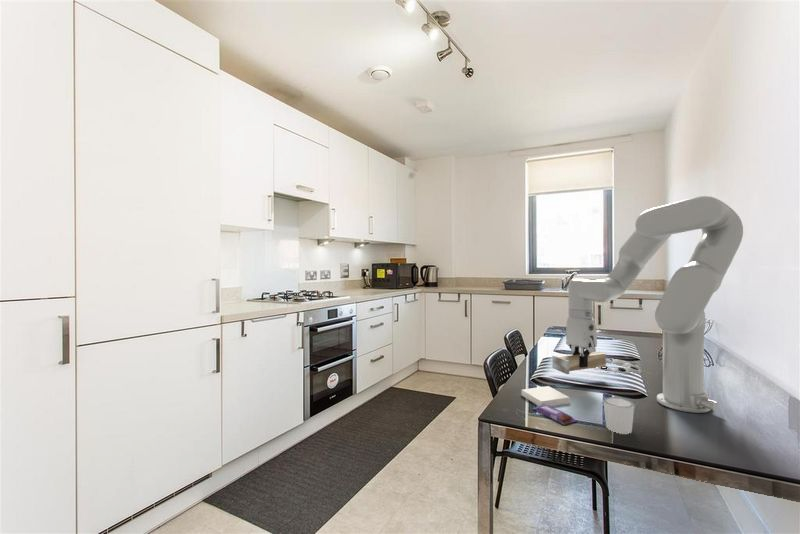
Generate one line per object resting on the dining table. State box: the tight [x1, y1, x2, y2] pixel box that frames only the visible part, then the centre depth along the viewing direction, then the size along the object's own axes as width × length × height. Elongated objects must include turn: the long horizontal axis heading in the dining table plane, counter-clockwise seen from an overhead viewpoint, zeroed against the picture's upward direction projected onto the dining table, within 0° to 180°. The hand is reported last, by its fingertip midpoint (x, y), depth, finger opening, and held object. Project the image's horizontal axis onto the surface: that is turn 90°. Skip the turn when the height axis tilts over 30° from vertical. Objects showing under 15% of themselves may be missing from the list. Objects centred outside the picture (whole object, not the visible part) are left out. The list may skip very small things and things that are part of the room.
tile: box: [521, 385, 571, 407], centre depth 113 cm, size 10×2×10 cm
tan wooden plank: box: [551, 351, 607, 375], centre depth 128 cm, size 7×19×4 cm, turn 107°
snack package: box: [532, 406, 578, 426], centre depth 101 cm, size 12×2×5 cm
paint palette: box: [598, 357, 642, 374], centre depth 143 cm, size 20×20×2 cm
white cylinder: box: [602, 396, 635, 435], centre depth 93 cm, size 7×7×7 cm
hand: (580, 365), depth 128 cm, fingers closed on tan wooden plank, 2 cm apart
